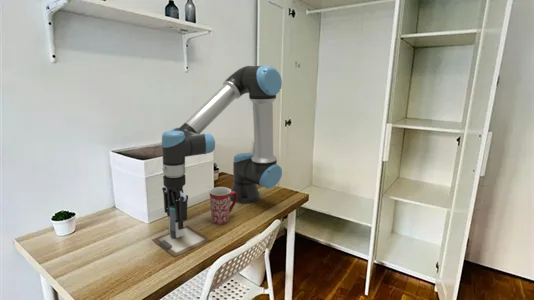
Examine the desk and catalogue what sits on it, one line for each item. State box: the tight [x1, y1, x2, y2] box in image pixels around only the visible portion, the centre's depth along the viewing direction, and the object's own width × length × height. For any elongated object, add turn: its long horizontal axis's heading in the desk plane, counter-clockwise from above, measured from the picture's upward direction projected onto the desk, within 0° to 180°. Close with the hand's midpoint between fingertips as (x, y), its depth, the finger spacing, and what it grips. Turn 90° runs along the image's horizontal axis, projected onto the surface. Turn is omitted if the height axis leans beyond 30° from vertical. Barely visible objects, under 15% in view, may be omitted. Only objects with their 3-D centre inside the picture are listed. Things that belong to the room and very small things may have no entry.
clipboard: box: [152, 225, 211, 258], centre depth 108 cm, size 15×15×1 cm
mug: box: [208, 186, 237, 225], centre depth 124 cm, size 13×9×14 cm
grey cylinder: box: [169, 204, 179, 238], centre depth 108 cm, size 4×4×12 cm
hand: (176, 233), depth 109 cm, fingers closed on grey cylinder, 4 cm apart
